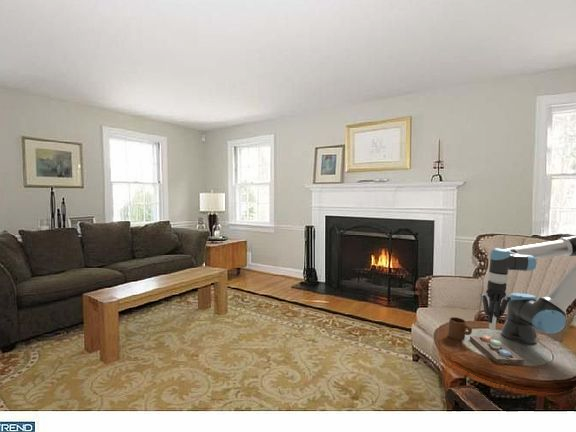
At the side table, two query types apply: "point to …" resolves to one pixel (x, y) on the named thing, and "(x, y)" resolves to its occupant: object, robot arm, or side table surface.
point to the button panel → (496, 351)
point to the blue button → (504, 353)
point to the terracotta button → (486, 339)
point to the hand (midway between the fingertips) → (491, 329)
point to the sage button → (495, 344)
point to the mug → (458, 329)
